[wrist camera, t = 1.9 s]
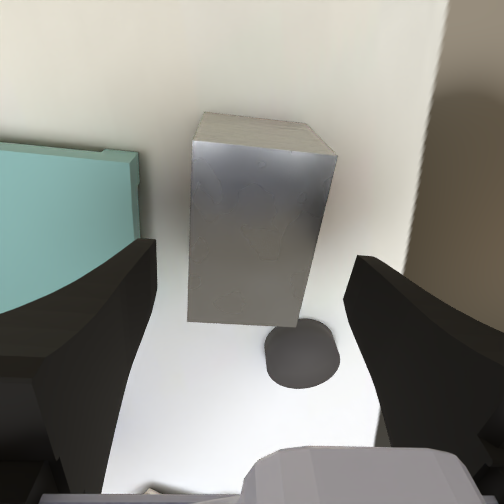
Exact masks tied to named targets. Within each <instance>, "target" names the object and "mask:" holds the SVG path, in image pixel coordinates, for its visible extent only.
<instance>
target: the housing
mask: <svg viewBox="0 0 504 504" xmlns="http://www.w3.org/2000/svg"><path fill="white" fill-rule="evenodd" d="M337 157H338V156H337V155H336V153H335V152H334V151H333V150H332V149H331V148H330V147H329V146H328V145H327V144H326V143H325V142H324V141H323V140H322V139H321V138H320V137H319V136H318V135H317V134H316V133H315V132H314V131H313V130H312V129H311V128H310V127H309V126H308V125H307V124H305V123H296V122H288V121H279V120H270V119H262V118H253V117H245V116H236V115H227V114H219V113H210V112H204V114H203V116H202V119H201V121H200V124H199V126H198V128H197V131H196V133H195V135H194V138H193V140H192V173H191V207H190V242H189V277H188V312H187V322H202V323H221V324H240V325H259V326H278V327H296V325H297V321H298V317H299V313H300V309H301V305H302V301H303V297H304V292H305V288H306V284H307V280H308V276H309V272H310V268H311V264H312V260H313V255H314V251H315V247H316V243H317V239H318V235H319V231H320V227H321V223H322V218H323V214H324V210H325V206H326V202H327V198H328V194H329V190H330V186H331V181H332V177H333V173H334V169H335V165H336V161H337Z"/></svg>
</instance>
